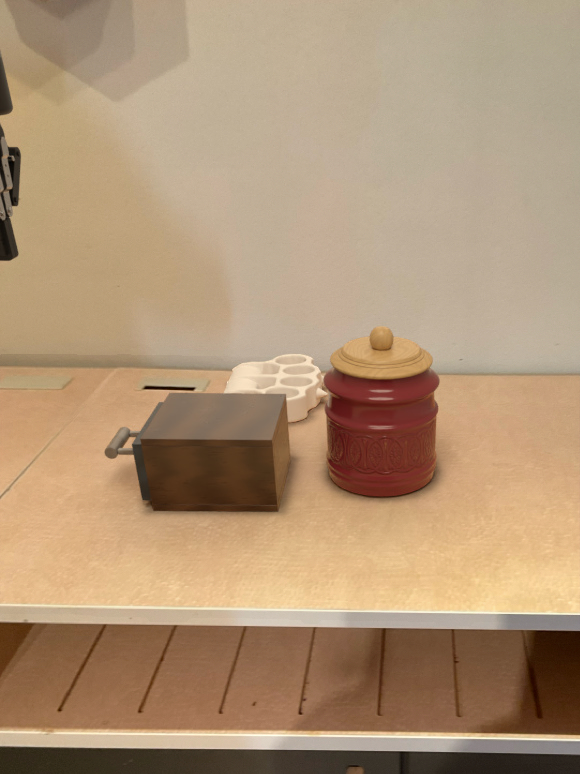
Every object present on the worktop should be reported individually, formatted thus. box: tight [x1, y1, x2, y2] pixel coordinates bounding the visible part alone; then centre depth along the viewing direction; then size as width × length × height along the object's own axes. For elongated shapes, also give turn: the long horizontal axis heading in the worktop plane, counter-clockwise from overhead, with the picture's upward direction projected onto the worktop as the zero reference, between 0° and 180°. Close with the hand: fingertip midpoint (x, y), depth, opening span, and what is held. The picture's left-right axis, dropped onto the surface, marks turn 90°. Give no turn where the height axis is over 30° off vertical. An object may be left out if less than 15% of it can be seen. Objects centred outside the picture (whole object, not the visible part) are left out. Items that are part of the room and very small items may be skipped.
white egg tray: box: [223, 353, 329, 424], centre depth 113 cm, size 3×18×15 cm
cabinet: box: [140, 392, 292, 512], centre depth 89 cm, size 14×13×9 cm
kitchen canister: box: [323, 325, 441, 497], centre depth 90 cm, size 13×13×18 cm
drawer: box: [104, 401, 164, 502], centre depth 89 cm, size 17×11×7 cm
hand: (5, 258), depth 78 cm, fingers closed
